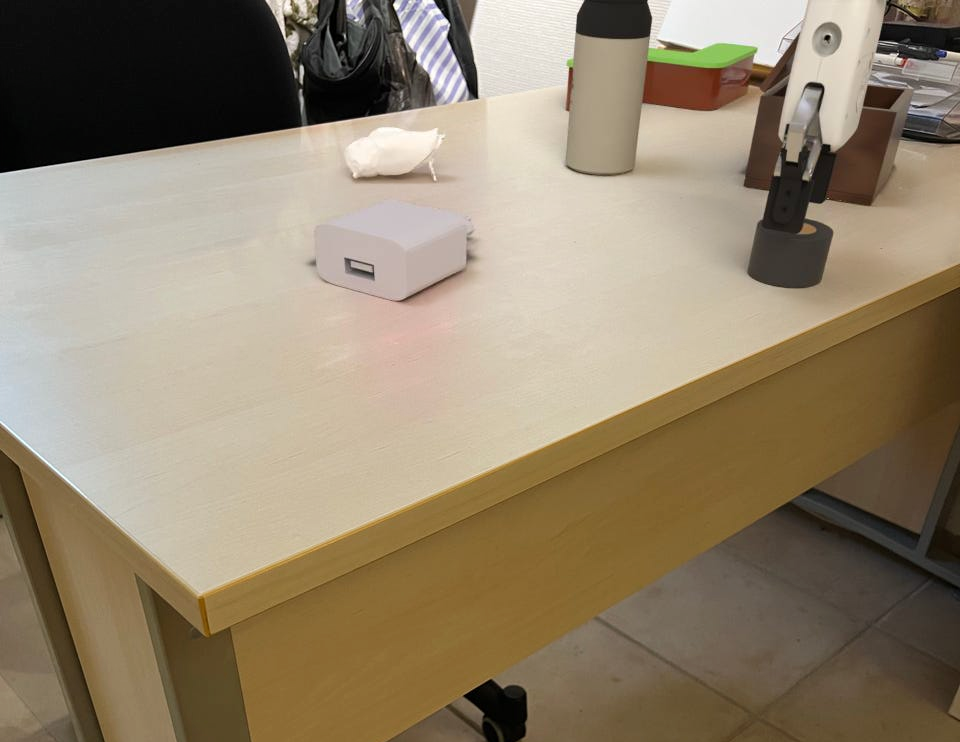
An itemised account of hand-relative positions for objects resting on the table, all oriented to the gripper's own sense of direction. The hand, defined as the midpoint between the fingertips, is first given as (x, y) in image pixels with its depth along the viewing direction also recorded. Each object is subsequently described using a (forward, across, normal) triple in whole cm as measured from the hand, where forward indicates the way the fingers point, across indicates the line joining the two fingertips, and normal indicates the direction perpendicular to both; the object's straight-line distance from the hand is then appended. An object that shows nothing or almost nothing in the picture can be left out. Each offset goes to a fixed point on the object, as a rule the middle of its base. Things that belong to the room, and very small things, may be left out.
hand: (793, 214), depth 80 cm
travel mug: (+6, +25, +27) cm, 37 cm away
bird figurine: (+6, +8, +45) cm, 46 cm away
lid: (-11, +33, +6) cm, 35 cm away
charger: (+6, -15, +29) cm, 33 cm away
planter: (+5, +65, +32) cm, 73 cm away
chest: (+5, +33, +3) cm, 34 cm away
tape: (+5, 0, 0) cm, 5 cm away
